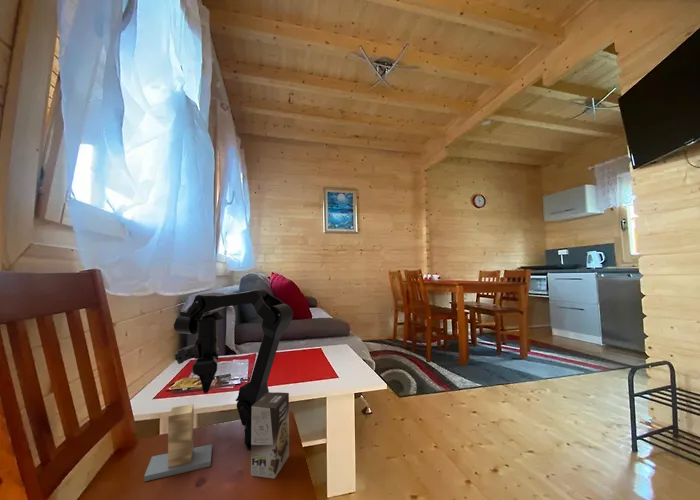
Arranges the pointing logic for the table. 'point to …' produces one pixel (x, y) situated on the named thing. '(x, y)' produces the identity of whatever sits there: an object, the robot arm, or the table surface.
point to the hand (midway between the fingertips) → (206, 387)
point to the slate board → (161, 469)
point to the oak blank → (180, 435)
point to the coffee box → (269, 434)
